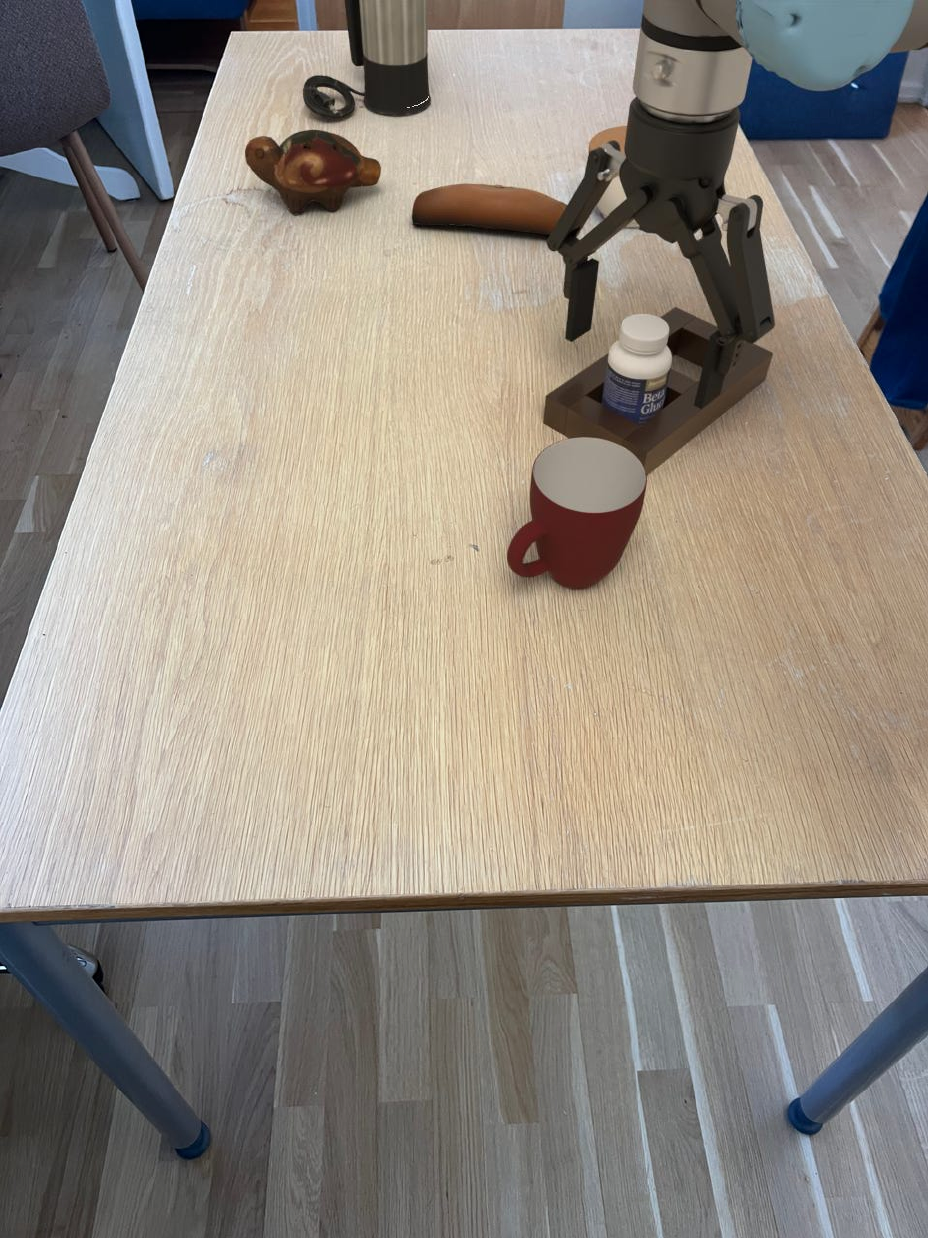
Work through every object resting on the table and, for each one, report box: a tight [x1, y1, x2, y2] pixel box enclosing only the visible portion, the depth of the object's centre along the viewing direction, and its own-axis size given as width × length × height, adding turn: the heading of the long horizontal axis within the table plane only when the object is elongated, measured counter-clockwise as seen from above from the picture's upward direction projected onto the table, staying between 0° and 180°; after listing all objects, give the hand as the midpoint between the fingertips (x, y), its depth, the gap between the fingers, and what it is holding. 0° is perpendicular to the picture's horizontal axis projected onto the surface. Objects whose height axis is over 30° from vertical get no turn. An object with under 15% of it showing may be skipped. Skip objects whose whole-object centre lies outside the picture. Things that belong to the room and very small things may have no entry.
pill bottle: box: [601, 313, 673, 426], centre depth 81 cm, size 5×5×10 cm
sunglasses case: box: [411, 182, 568, 236], centre depth 106 cm, size 18×7×7 cm, turn 80°
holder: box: [542, 306, 774, 476], centre depth 86 cm, size 11×20×3 cm, turn 136°
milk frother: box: [302, 0, 432, 120], centre depth 122 cm, size 14×16×15 cm
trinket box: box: [588, 125, 639, 229], centre depth 105 cm, size 11×11×9 cm
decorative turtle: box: [244, 129, 382, 215], centre depth 108 cm, size 10×15×8 cm, turn 108°
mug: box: [506, 437, 648, 590], centre depth 69 cm, size 10×8×10 cm
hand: (640, 366), depth 80 cm, fingers open, 13 cm apart
